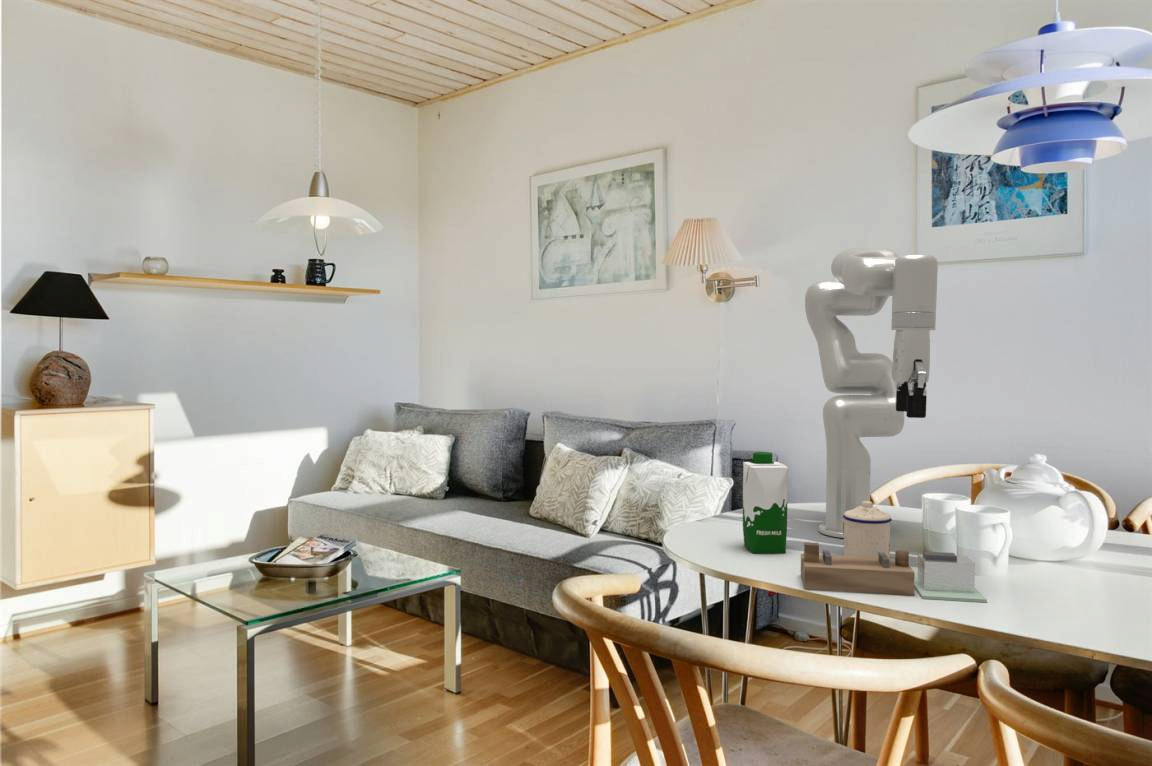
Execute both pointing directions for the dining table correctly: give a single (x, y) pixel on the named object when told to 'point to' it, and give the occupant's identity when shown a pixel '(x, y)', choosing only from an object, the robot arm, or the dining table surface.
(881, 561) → the plane body
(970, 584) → the lever cap
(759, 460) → the milk carton
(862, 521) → the teacup with lid
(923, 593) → the mat
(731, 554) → the dining table surface
